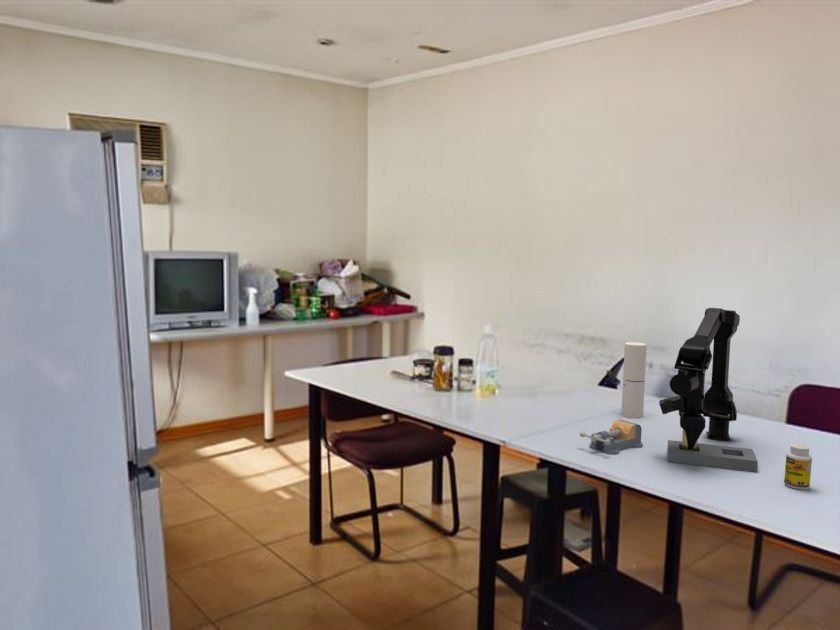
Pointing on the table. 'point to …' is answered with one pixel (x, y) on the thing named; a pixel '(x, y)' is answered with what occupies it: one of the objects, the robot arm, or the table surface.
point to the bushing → (684, 443)
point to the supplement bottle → (798, 467)
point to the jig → (713, 456)
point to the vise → (617, 437)
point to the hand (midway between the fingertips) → (689, 444)
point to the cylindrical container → (634, 379)
